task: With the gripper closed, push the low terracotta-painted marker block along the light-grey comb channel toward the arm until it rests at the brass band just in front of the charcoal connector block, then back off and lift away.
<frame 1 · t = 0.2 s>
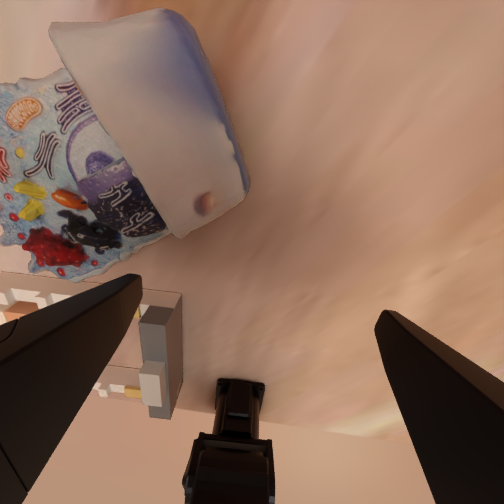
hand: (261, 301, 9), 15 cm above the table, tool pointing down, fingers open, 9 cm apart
marker block: (38, 323, 31), on the table
comb channel: (93, 331, 30), on the table
cell model: (135, 159, 21), on the table
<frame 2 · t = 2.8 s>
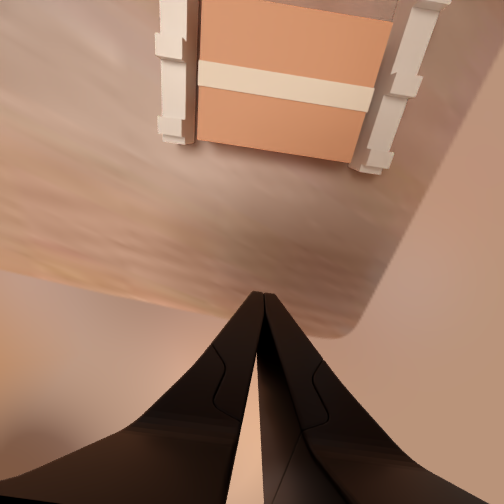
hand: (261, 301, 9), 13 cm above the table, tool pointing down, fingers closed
marker block: (281, 94, 17), on the table
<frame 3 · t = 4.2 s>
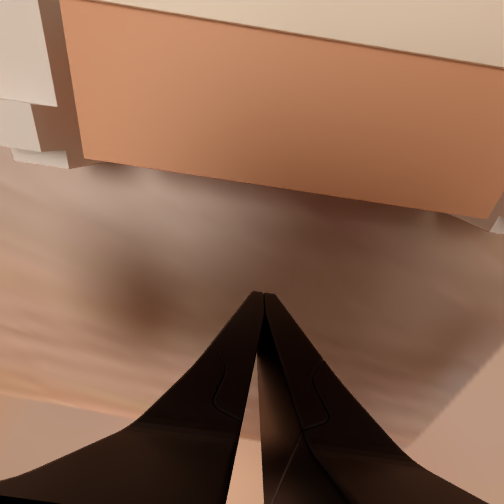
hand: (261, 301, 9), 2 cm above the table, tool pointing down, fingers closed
marker block: (302, 51, 8), on the table
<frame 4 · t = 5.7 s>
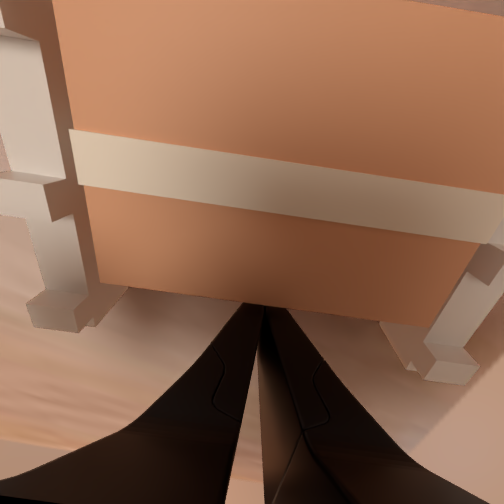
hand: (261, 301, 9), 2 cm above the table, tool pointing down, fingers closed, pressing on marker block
marker block: (281, 168, 9), on the table, touching gripper
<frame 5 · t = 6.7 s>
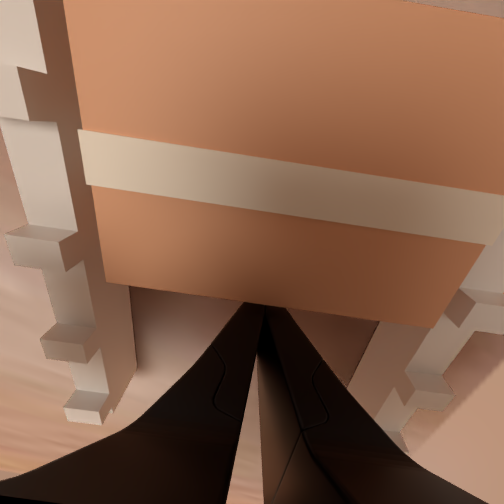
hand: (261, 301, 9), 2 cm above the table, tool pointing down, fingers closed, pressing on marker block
marker block: (286, 169, 9), on the table, touching gripper
comb channel: (276, 193, 9), on the table
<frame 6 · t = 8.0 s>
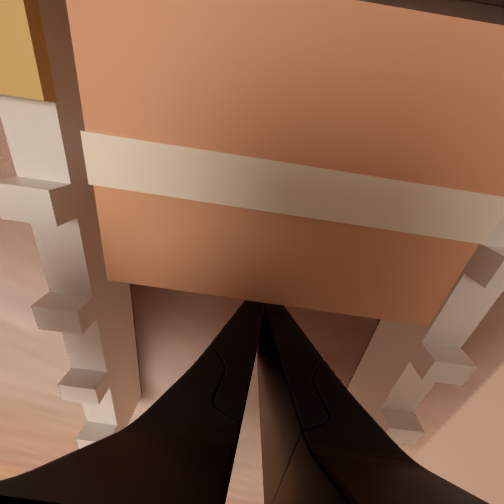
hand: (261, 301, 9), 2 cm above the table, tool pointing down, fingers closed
marker block: (284, 169, 9), on the table
comb channel: (265, 252, 10), on the table
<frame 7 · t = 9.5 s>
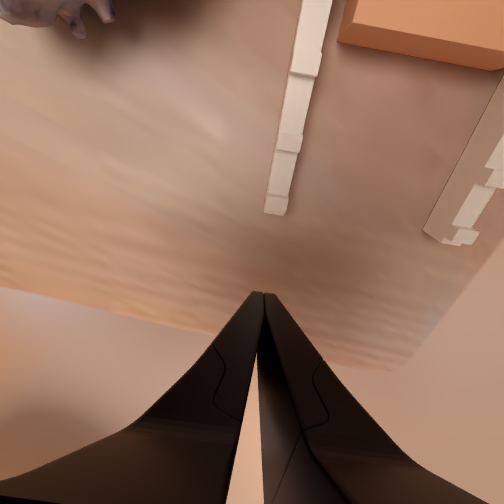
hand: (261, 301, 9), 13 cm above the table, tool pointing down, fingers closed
comb channel: (413, 53, 15), on the table
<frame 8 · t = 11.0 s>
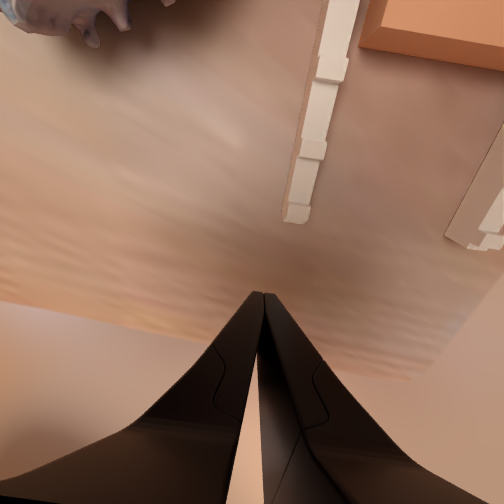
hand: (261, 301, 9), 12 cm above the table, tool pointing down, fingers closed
comb channel: (436, 57, 15), on the table
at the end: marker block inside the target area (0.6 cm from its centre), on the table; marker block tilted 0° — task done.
